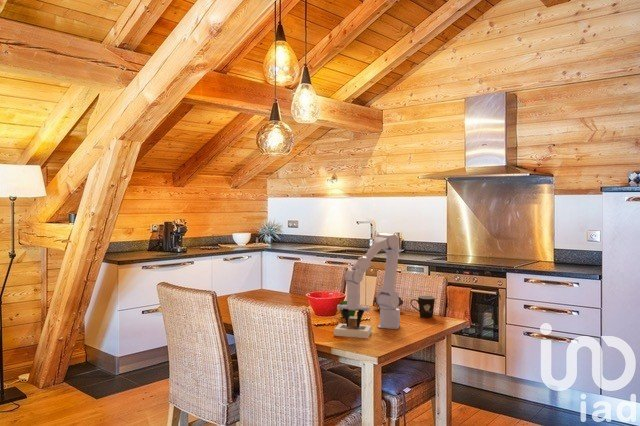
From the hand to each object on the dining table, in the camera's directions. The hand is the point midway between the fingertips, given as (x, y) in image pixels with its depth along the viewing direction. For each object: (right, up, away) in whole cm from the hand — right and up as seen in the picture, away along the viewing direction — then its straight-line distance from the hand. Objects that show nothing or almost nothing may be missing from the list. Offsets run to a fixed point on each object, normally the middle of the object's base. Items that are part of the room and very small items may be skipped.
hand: (353, 326), depth 236 cm
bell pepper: (-1, -2, +31) cm, 32 cm away
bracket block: (0, -2, 0) cm, 2 cm away
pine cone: (+22, -2, +48) cm, 53 cm away
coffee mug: (+38, -2, +34) cm, 51 cm away
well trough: (0, -3, 0) cm, 3 cm away
